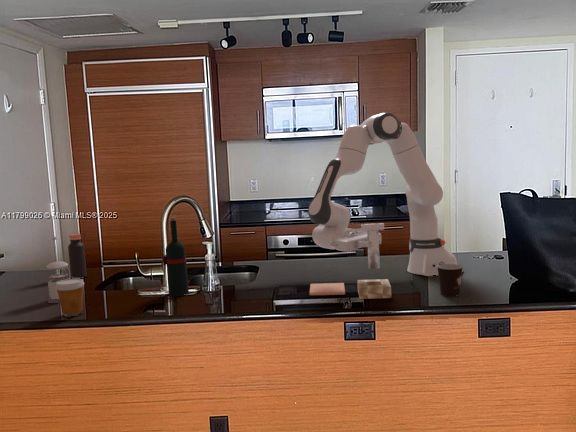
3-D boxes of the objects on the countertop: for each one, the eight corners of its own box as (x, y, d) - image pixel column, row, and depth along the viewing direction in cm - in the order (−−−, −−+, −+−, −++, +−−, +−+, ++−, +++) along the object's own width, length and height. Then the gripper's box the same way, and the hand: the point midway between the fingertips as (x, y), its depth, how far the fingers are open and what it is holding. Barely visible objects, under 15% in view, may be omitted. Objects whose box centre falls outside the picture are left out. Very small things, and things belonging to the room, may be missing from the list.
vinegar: (76, 280, 241) (72, 236, 239) (68, 278, 245) (63, 235, 243) (90, 276, 247) (85, 233, 244) (81, 275, 251) (77, 232, 248)
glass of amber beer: (91, 310, 193) (88, 277, 192) (80, 318, 184) (77, 284, 182) (65, 310, 194) (62, 278, 192) (53, 319, 184) (49, 285, 183)
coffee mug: (448, 298, 186) (447, 270, 185) (432, 293, 194) (432, 265, 193) (474, 293, 191) (474, 266, 189) (458, 288, 199) (458, 261, 197)
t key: (384, 266, 197) (383, 222, 195) (385, 268, 193) (384, 224, 191) (362, 266, 198) (360, 223, 196) (363, 269, 194) (361, 225, 192)
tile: (343, 285, 211) (343, 282, 211) (345, 294, 198) (345, 291, 198) (310, 286, 212) (310, 283, 212) (309, 295, 199) (309, 292, 199)
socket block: (387, 289, 202) (387, 279, 201) (391, 297, 191) (391, 286, 190) (357, 290, 203) (357, 280, 202) (359, 298, 191) (359, 287, 191)
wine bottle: (165, 291, 214) (159, 216, 210) (190, 290, 214) (185, 215, 210) (160, 297, 206) (154, 219, 203) (186, 295, 206) (181, 218, 202)
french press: (41, 304, 205) (34, 239, 201) (58, 295, 216) (52, 234, 213) (65, 303, 203) (59, 238, 200) (81, 295, 215) (75, 233, 211)
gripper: (326, 235, 197) (355, 239, 186) (363, 227, 210) (392, 230, 200) (327, 252, 198) (356, 257, 187) (364, 243, 211) (392, 247, 200)
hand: (375, 243), depth 194 cm, fingers closed on t key, 4 cm apart
